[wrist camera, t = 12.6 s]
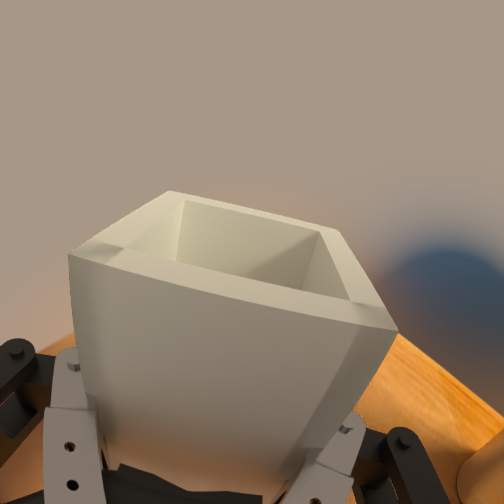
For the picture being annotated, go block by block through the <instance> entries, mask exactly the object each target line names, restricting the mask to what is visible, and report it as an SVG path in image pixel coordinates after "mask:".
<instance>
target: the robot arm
mask: <svg viewBox="0 0 504 504" xmlns="http://www.w3.org/2000/svg"><path fill="white" fill-rule="evenodd" d="M13 392H14V393H13ZM12 393H13V394H12ZM11 394H12V395H11ZM10 395H11V396H10ZM9 396H10V397H9ZM8 397H9V398H8ZM7 398H8V399H7ZM6 399H7V400H6ZM5 400H6V401H5ZM4 401H5V402H4ZM3 402H4V403H3ZM2 403H3V404H2ZM1 404H2V405H1ZM0 405H1V406H0V468H1V467H2V466H3V464H4V463H5V462H6V461H7V460H8V458H9V457H10V456H11V455H12V454H13V452H14V451H15V450H16V449H17V448H18V447H19V445H20V444H21V443H22V442H23V441H24V440H25V438H26V437H27V436H28V435H29V434H30V433H31V431H32V430H33V429H34V428H35V427H36V426H37V425H38V423H39V422H40V421H41V420H42V419H43V418H44V425H43V485H44V489H43V490H41V491H38V492H36V493H33V494H30V495H27V496H25V497H22V498H19V499H16V500H13V501H10V502H7V503H4V504H262V501H263V495H254V494H246V493H239V492H232V491H187V490H185V489H183V488H180V487H178V486H176V485H174V484H172V483H170V482H168V481H166V480H164V479H162V478H161V477H159V476H157V475H155V474H152V473H149V472H146V471H143V470H139V469H136V468H133V467H130V466H128V465H125V464H122V463H120V465H119V467H118V470H112V468H111V464H110V459H109V454H108V446H107V441H106V437H105V436H102V432H101V427H100V420H99V407H98V402H97V397H95V396H92V395H90V394H88V393H85V389H84V385H83V380H82V375H81V369H80V364H79V358H78V352H77V347H72V348H67V349H65V350H63V351H61V352H60V353H59V354H58V355H57V356H49V355H43V354H36V353H35V349H34V346H33V345H32V344H31V343H30V342H29V341H27V340H25V339H20V338H17V339H11V340H9V341H7V342H5V343H4V344H3V345H1V346H0ZM391 481H392V483H391ZM392 484H393V486H394V488H393V486H392ZM351 488H352V489H353V493H354V496H355V499H356V502H357V504H450V502H449V499H448V497H447V495H446V493H445V491H444V488H443V486H442V484H441V482H440V480H439V478H438V476H437V474H436V471H435V469H434V467H433V465H432V463H431V461H430V459H429V457H428V455H427V453H426V451H425V449H424V447H423V445H422V443H421V441H420V439H419V437H418V436H417V435H416V434H415V433H414V432H413V431H412V430H410V429H408V428H405V427H395V428H393V429H391V430H390V431H389V433H388V434H384V433H381V432H377V431H374V430H371V429H368V428H366V426H365V423H364V421H363V419H362V418H361V417H360V416H359V415H358V414H357V413H355V412H353V411H351V412H350V414H349V415H348V417H347V418H346V419H345V421H344V422H343V424H342V425H341V427H340V428H339V429H338V431H337V432H336V433H335V435H334V436H333V438H332V439H331V440H330V442H329V443H328V444H327V445H326V447H325V448H311V449H310V450H309V452H308V453H307V454H306V456H305V457H304V459H303V461H302V463H301V465H300V466H299V468H298V469H297V471H296V472H295V474H294V475H293V476H292V477H291V479H287V480H286V481H285V483H284V484H283V485H282V487H281V488H280V490H279V491H278V493H277V494H276V496H275V497H274V498H273V500H272V501H271V502H270V504H345V502H346V500H347V498H348V495H349V493H350V490H351ZM394 489H395V491H394ZM457 491H458V495H459V498H460V500H461V502H462V504H504V428H503V429H502V430H501V431H500V432H499V433H498V434H497V435H496V436H495V437H493V438H492V439H491V440H490V441H489V442H488V443H486V444H485V445H484V446H483V447H482V448H481V449H479V450H478V451H477V452H476V453H475V454H473V455H472V456H471V457H470V458H468V459H467V460H466V461H465V462H464V463H463V464H462V466H461V468H460V470H459V473H458V476H457ZM395 492H396V493H395ZM396 494H397V496H396ZM397 497H398V499H397Z"/></svg>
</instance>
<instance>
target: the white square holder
mask: <svg viewBox="0 0 504 504" xmlns="http://www.w3.org/2000/svg"><path fill="white" fill-rule="evenodd" d="M68 258H69V259H68V261H69V281H70V295H71V306H72V315H73V324H74V332H75V339H76V346H77V352H78V358H79V364H80V369H81V375H82V380H83V385H84V389H85V393H88V394H90V395H92V396H95V397H97V402H98V407H99V420H100V427H101V432H102V436H105V437H106V441H107V446H108V454H109V459H110V464H111V468H112V470H118V467H119V465H120V463H122V464H125V465H128V466H130V467H133V468H136V469H139V470H143V471H146V472H149V473H152V474H155V475H157V476H159V477H161V478H162V479H164V480H166V481H168V482H170V483H172V484H174V485H176V486H178V487H180V488H183V489H185V490H187V491H232V492H239V493H246V494H254V495H263V501H262V504H270V502H271V501H272V500H273V498H274V497H275V496H276V494H277V493H278V491H279V490H280V488H281V487H282V485H283V484H284V483H285V481H286V480H287V479H291V477H292V476H293V475H294V474H295V472H296V471H297V469H298V468H299V466H300V465H301V463H302V461H303V459H304V457H305V456H306V454H307V453H308V452H309V450H310V449H311V448H325V447H326V445H327V444H328V443H329V442H330V440H331V439H332V438H333V436H334V435H335V433H336V432H337V431H338V429H339V428H340V427H341V425H342V424H343V422H344V421H345V419H346V418H347V417H348V415H349V414H350V412H351V411H352V409H353V408H354V406H355V405H356V403H357V402H358V400H359V399H360V397H361V396H362V394H363V393H364V391H365V389H366V388H367V386H368V385H369V383H370V381H371V380H372V378H373V376H374V375H375V373H376V372H377V370H378V368H379V366H380V365H381V363H382V361H383V360H384V358H385V356H386V354H387V352H388V351H389V349H390V347H391V345H392V343H393V342H394V340H395V338H396V336H397V334H398V332H399V330H398V329H397V327H396V325H395V323H394V321H393V320H392V318H391V316H390V314H389V313H388V311H387V309H386V307H385V306H384V304H383V302H382V300H381V299H380V297H379V295H378V294H377V292H376V290H375V289H374V287H373V285H372V284H371V282H370V280H369V279H368V277H367V275H366V274H365V272H364V270H363V269H362V267H361V266H360V264H359V262H358V261H357V259H356V258H355V256H354V254H353V253H352V251H351V250H350V248H349V247H348V245H347V243H346V242H345V240H344V239H343V238H342V236H341V234H340V233H339V231H338V230H336V229H332V228H328V227H324V226H321V225H316V224H313V223H309V222H305V221H301V220H297V219H293V218H289V217H285V216H280V215H276V214H273V213H268V212H264V211H260V210H256V209H251V208H247V207H243V206H238V205H234V204H230V203H225V202H221V201H216V200H211V199H207V198H203V197H198V196H193V195H188V194H184V193H179V192H174V191H168V192H166V193H164V194H162V195H161V196H159V197H157V198H155V199H154V200H152V201H150V202H149V203H147V204H145V205H143V206H142V207H140V208H139V209H137V210H135V211H133V212H132V213H130V214H129V215H127V216H125V217H124V218H122V219H120V220H119V221H117V222H116V223H114V224H112V225H111V226H109V227H108V228H106V229H105V230H103V231H102V232H100V233H99V234H97V235H95V236H94V237H92V238H91V239H89V240H88V241H86V242H85V243H83V244H82V245H80V246H79V247H77V248H76V249H74V250H73V251H72V252H70V253H69V254H68Z"/></svg>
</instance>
